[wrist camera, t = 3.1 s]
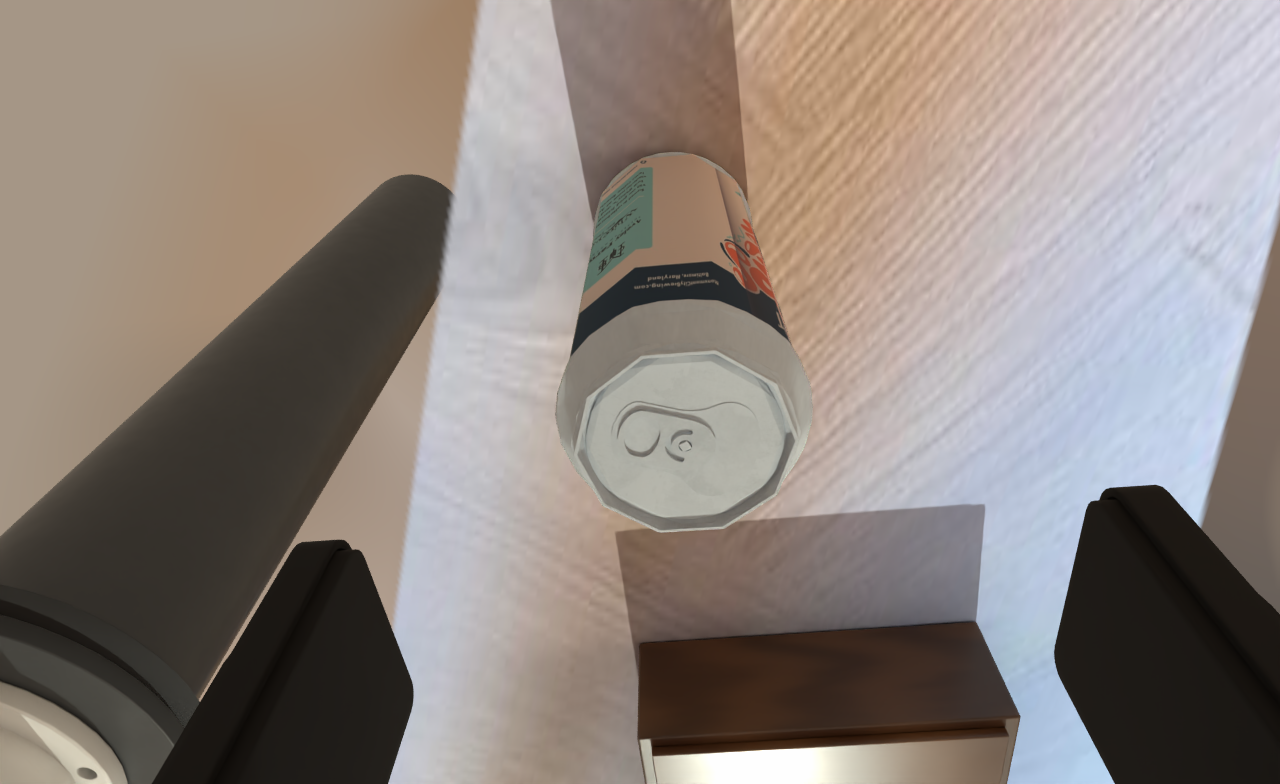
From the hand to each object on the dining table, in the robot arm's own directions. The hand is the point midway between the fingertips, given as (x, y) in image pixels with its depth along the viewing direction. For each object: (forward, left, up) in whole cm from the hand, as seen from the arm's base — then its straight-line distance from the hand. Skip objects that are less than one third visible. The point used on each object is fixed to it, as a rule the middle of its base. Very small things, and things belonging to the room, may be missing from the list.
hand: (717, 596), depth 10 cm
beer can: (0, 0, -16) cm, 16 cm away
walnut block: (+4, -25, -16) cm, 30 cm away
